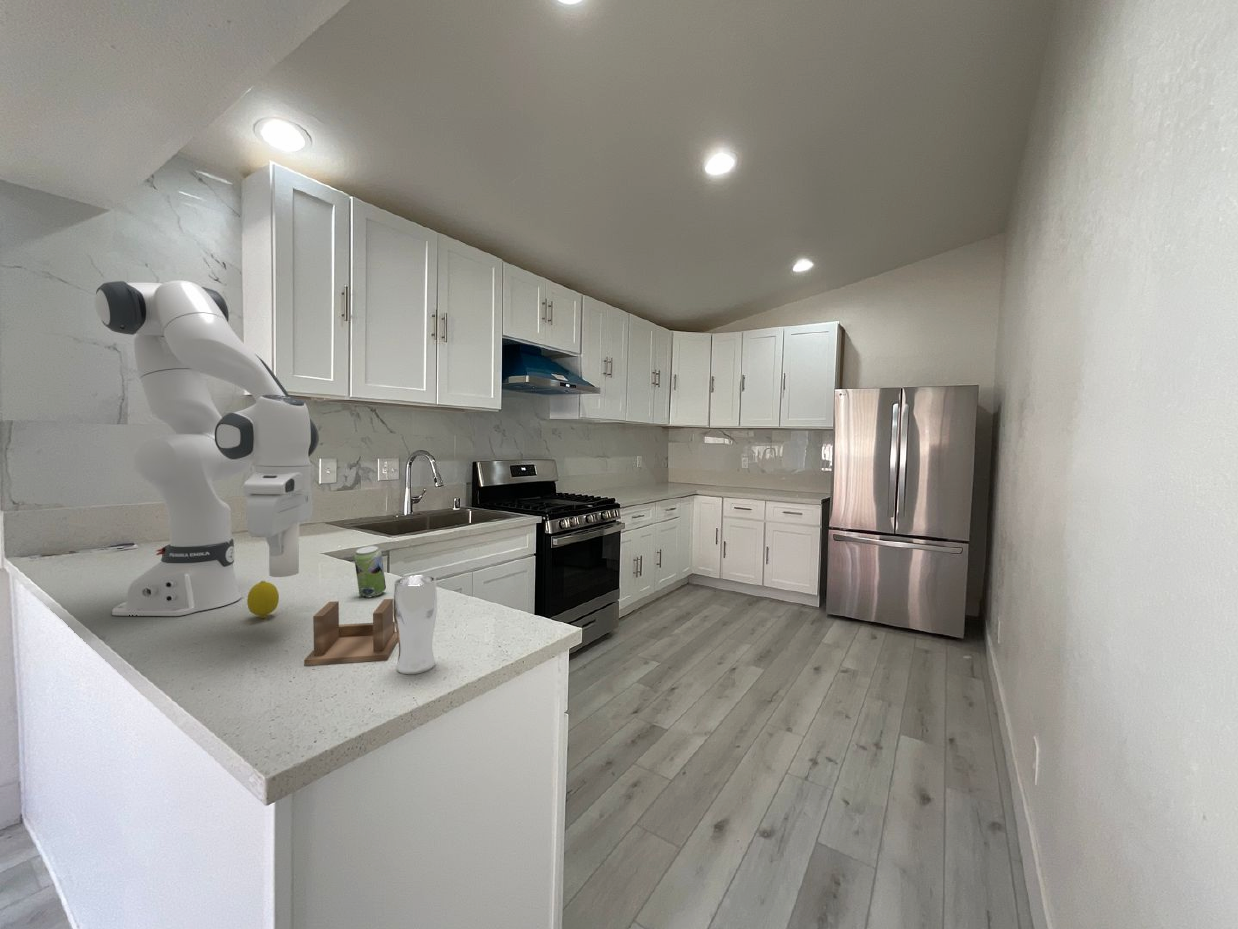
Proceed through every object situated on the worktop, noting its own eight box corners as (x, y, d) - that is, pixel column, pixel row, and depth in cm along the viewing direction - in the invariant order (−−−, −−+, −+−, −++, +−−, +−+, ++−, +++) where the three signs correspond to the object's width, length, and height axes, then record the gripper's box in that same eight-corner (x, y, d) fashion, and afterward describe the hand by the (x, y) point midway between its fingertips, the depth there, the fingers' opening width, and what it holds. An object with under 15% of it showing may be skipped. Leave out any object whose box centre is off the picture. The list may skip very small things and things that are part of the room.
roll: (264, 577, 97) (264, 523, 97) (275, 570, 102) (276, 519, 101) (292, 576, 98) (293, 523, 98) (302, 570, 103) (303, 519, 102)
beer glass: (402, 658, 91) (401, 574, 91) (442, 657, 92) (442, 574, 91) (387, 676, 84) (386, 586, 84) (430, 675, 85) (430, 585, 84)
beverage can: (390, 591, 130) (390, 544, 129) (374, 600, 123) (373, 550, 122) (367, 590, 131) (366, 543, 130) (349, 599, 123) (348, 550, 123)
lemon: (246, 617, 111) (245, 580, 110) (277, 611, 114) (276, 576, 114) (249, 624, 106) (248, 586, 106) (280, 618, 110) (280, 581, 110)
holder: (304, 665, 88) (303, 619, 87) (327, 640, 99) (326, 599, 98) (387, 660, 91) (386, 615, 90) (400, 636, 101) (400, 596, 101)
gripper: (288, 475, 108) (288, 540, 109) (238, 485, 88) (238, 564, 89) (321, 476, 110) (320, 540, 110) (279, 485, 90) (278, 564, 90)
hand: (283, 551), depth 100 cm, fingers closed on roll, 5 cm apart
